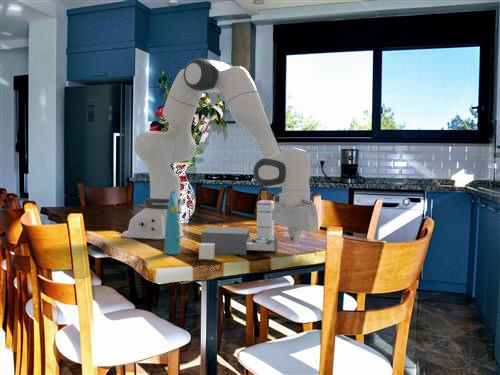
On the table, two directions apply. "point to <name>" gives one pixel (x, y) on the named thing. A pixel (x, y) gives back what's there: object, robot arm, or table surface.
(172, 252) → the tube
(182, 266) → the table surface
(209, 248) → the block
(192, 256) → the table surface
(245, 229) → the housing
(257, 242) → the disc
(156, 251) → the table surface
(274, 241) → the tray
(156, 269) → the table surface
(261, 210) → the syrup box
